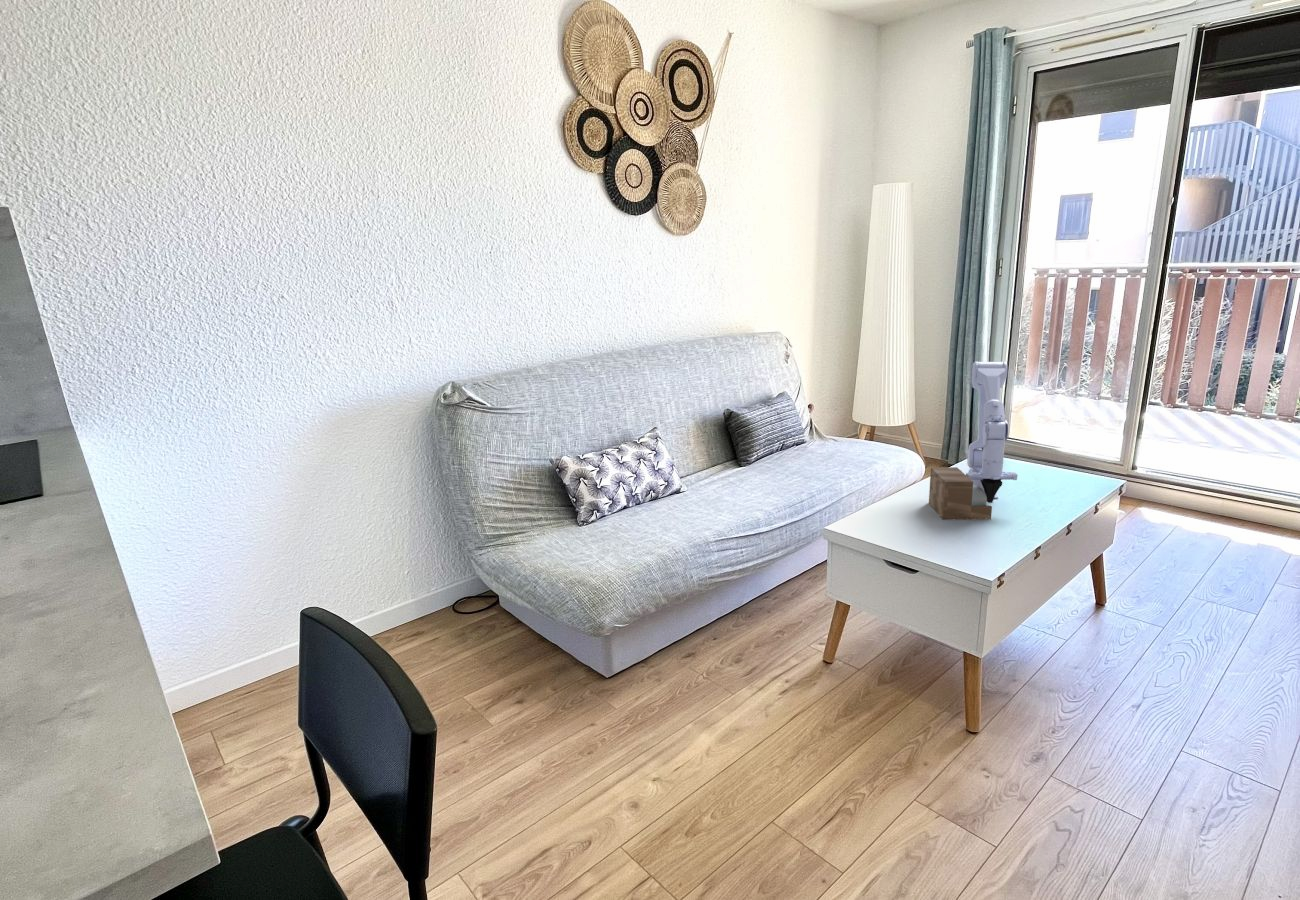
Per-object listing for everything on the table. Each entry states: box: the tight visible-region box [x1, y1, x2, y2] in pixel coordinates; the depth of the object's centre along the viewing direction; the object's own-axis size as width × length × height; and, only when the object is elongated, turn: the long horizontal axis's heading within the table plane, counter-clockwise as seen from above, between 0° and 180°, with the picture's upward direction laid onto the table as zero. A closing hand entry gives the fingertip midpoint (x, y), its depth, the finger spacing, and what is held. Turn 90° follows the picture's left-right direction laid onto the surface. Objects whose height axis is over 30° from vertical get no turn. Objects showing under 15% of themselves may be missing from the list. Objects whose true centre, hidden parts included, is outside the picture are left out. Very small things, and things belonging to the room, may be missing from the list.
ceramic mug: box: [971, 485, 988, 506], centre depth 216 cm, size 11×8×8 cm
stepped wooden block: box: [928, 466, 993, 521], centre depth 217 cm, size 15×14×12 cm
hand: (989, 501), depth 217 cm, fingers closed
